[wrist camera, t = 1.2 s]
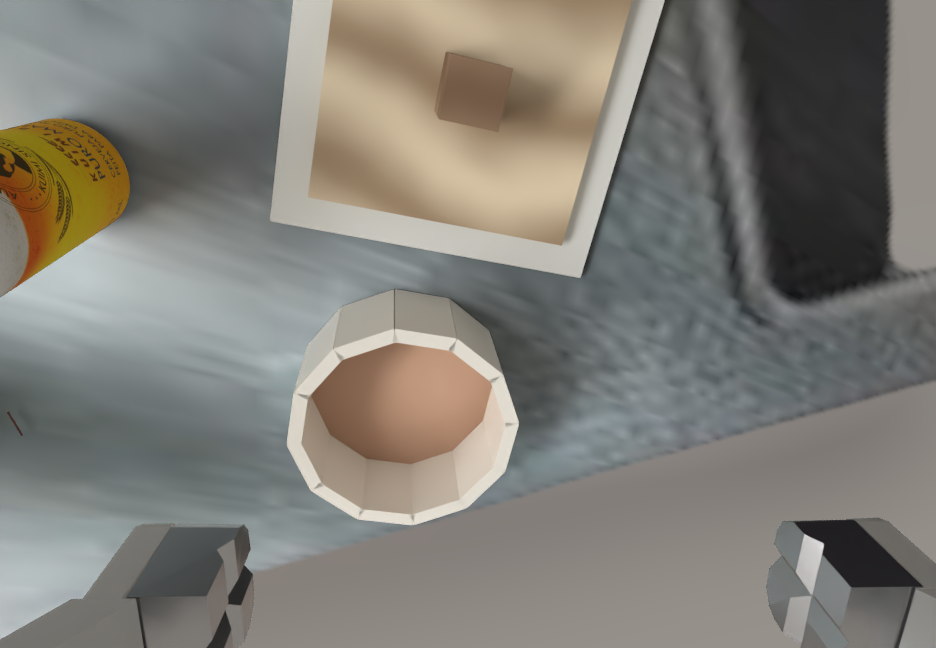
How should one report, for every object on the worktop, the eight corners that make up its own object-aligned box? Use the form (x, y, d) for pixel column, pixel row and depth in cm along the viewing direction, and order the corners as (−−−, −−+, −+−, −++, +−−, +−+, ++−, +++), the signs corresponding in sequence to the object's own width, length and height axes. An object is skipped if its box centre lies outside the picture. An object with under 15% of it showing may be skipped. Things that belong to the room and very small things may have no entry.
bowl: (316, 275, 40) (304, 314, 34) (521, 310, 42) (540, 351, 36) (292, 452, 44) (277, 510, 39) (476, 474, 47) (487, 533, 41)
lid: (348, -110, 31) (340, -133, 27) (636, -30, 34) (671, -40, 30) (309, 193, 37) (298, 215, 33) (558, 241, 40) (578, 267, 35)
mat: (312, -168, 31) (311, -171, 30) (679, -62, 34) (683, -63, 34) (271, 218, 38) (270, 221, 37) (578, 275, 41) (580, 277, 41)
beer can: (146, 144, 36) (-8, 211, 22) (122, 243, 38) (-33, 362, 24) (27, 97, 34) (-219, 139, 20) (8, 204, 36) (-227, 306, 23)
